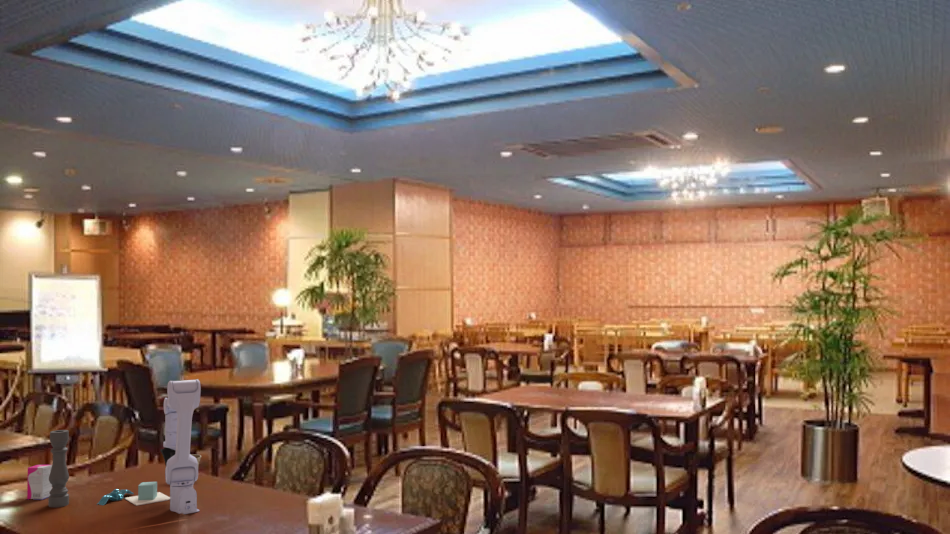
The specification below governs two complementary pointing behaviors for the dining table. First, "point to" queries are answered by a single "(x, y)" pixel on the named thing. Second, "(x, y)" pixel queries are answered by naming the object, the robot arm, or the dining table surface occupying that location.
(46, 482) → the supplement box
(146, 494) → the teal cube
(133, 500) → the mat
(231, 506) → the dining table surface
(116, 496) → the flying bird
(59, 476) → the candle holder
